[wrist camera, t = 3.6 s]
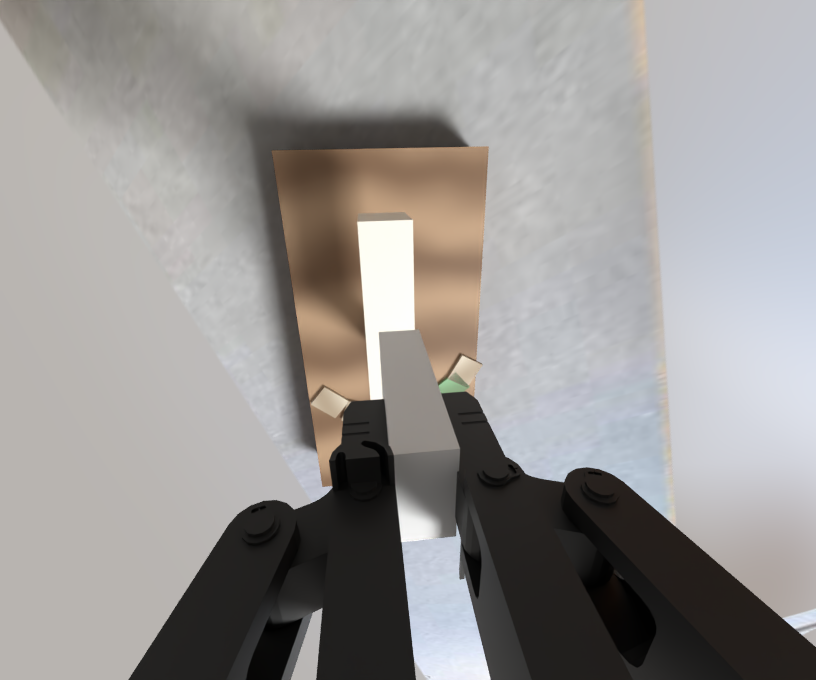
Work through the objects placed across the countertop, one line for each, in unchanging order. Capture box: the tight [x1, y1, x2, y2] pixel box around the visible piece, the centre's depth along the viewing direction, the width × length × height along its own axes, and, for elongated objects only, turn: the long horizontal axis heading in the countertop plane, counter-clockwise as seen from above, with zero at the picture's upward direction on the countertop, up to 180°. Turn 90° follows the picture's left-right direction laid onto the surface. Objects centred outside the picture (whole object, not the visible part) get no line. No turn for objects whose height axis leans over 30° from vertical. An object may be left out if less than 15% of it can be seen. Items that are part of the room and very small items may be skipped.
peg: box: [357, 212, 415, 400], centre depth 25 cm, size 17×3×9 cm, turn 1°
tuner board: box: [272, 147, 489, 487], centre depth 32 cm, size 28×14×4 cm, turn 1°
